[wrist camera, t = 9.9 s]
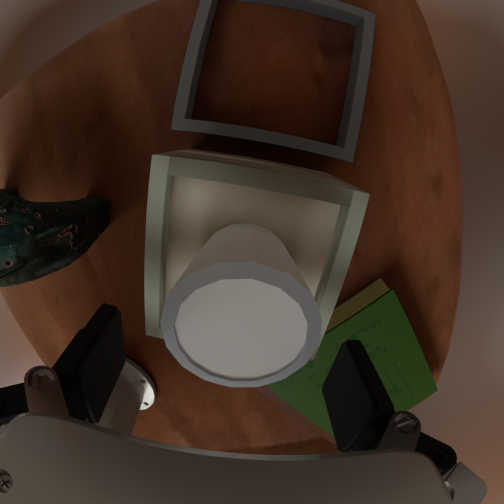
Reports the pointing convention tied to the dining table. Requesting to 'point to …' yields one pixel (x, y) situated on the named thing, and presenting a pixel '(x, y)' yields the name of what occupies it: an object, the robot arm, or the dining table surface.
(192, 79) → the dark grey square frame
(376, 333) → the hardcover book
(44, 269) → the ceramic cat
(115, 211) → the dining table surface
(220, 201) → the stand
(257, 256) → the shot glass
